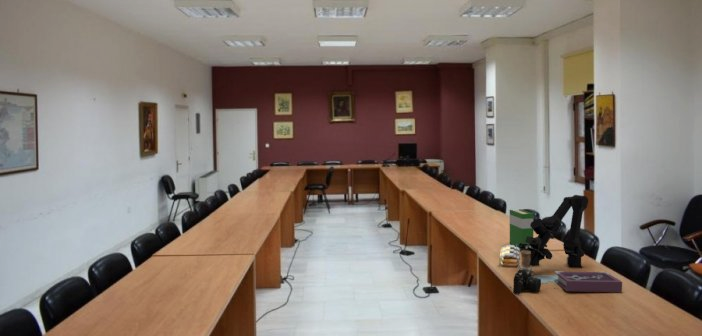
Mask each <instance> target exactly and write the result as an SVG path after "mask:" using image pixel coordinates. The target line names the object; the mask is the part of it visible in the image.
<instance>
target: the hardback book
mask: <svg viewBox="0 0 702 336" xmlns="http://www.w3.org/2000/svg"><path fill="white" fill-rule="evenodd" d="M533 221H534V213H533V212H529V211H527V210H524V209H518V210H514V209H509V245H514V246H515V247H516V245H517V247H518V248H519V246H518V245H519V244H520V243H526V244H527V245H528V246H530V245H529V243H527V242H525V240H526V237H527V236H529V237H533V238H534V230H533V229H532V228H531V226H530V224H531V222H533ZM521 251H522V250H521V249H520V248H519V253H521Z"/></svg>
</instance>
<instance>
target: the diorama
mask: <svg viewBox="0 0 702 336" xmlns="http://www.w3.org/2000/svg"><path fill="white" fill-rule="evenodd" d="M509 257H512V259H513V258H515V259H516V268H517V269H518V268H519V267H520V251H519V248H518V247H517V245H516V247H515V246H514V245H510V244H506V245H505V246H501V248H500V254H499V266H500V267H501V268H502V267H503V265H504V258H509Z"/></svg>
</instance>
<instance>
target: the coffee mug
mask: <svg viewBox="0 0 702 336" xmlns="http://www.w3.org/2000/svg"><path fill="white" fill-rule="evenodd" d="M529 247H531V246H529ZM531 255H532V256H531V260H532V258H533V257H534V255H535V252H532V251H531ZM539 265H540V261H538V262H536V263H534V264H532V265H531V266H532V267H538V266H539Z"/></svg>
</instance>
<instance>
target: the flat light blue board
mask: <svg viewBox="0 0 702 336" xmlns="http://www.w3.org/2000/svg"><path fill="white" fill-rule="evenodd" d="M532 277H536V278H538V279H541V285H542V284H545V285H547V284H548V283H553V284H554V285H558V284H557V283H556V282H555V281H554V279H558V275H556V274H554V275H553V274H552V275H551V274H550V275H548V274H546V275H544V274H534V276H532Z"/></svg>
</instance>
